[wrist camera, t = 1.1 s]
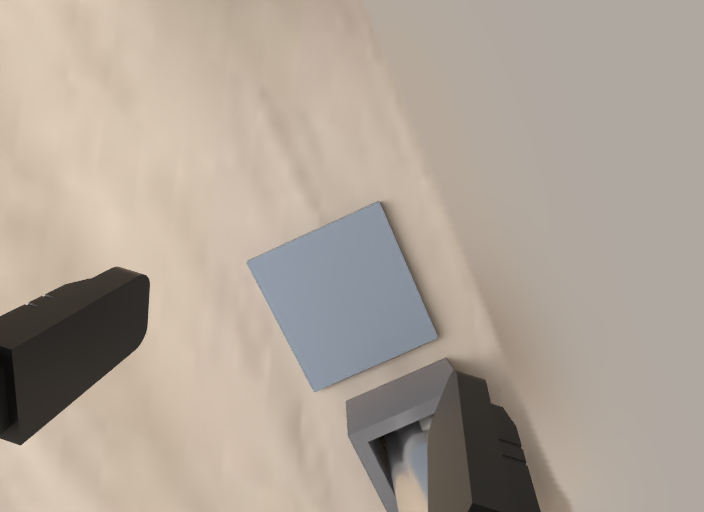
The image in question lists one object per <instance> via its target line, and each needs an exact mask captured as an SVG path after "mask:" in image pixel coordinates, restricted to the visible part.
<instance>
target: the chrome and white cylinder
mask: <svg viewBox="0 0 704 512" xmlns="http://www.w3.org/2000/svg"><path fill="white" fill-rule="evenodd" d="M433 415H434V414H432V415H429V416H427V417H425V418H422V419H420V420H418V421H415V422H413V423H411V424H408V425H406V426H404V427H402V428H399V429H397V430H395V431H392V432H390V433H388V434H385V435H384V440H385V446H386V451H387V456H388V461H389V466H390V471H391V476H392V481H393V487H394V492H395V497H396V502H397V507H398V512H428V466H427V442H428V434H429V428H430V424H431V421H432V418H433Z"/></svg>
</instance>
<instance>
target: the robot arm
mask: <svg viewBox="0 0 704 512" xmlns="http://www.w3.org/2000/svg"><path fill="white" fill-rule="evenodd" d="M149 290H150V282H149V278H148V277H147V276H146V275H144V274H140V273H137V272H134V271H131V270H127V269H124V268H121V267H114V268H111V269H109V270H107V271H105V272H103V273H101V274H99V275H97V276H95V277H94V278H92V279H86V280H82V281H78V282H73V283H69V284H65V285H63V286H61V287H59V288H57V289H55V290H53V291H51V292H49V293H47V294H46V295H45V296H44V297H43V296H41V297H39V298H37V299H35V300H33V301H31V302H29V304H28V305H25V304H24V305H22V306H20V307H18V308H16V309H14V310H12V311H10V312H8V313H6V314H4V315H2V316H0V438H1V439H4V440H6V441H9V442H12V443H15V444H18V445H22V444H23V443H24V442H25V441H27V440H28V439H29V438H30V437H31V436H33V435H34V434H35V433H36V432H37V431H39V430H40V429H41V428H42V427H43V426H45V425H46V424H47V423H48V422H49V421H51V420H52V419H53V418H54V417H55V416H57V415H58V414H59V413H60V412H61V411H63V410H64V409H65V408H66V407H67V406H69V405H70V404H71V403H72V402H73V401H75V400H76V399H77V398H78V397H79V396H81V395H82V394H83V393H84V392H85V391H87V390H88V389H89V388H90V387H91V386H93V385H94V384H95V383H96V382H97V381H99V380H100V379H101V378H102V377H103V376H105V375H106V374H107V373H108V372H109V371H111V370H112V369H113V368H114V367H115V366H117V365H118V364H119V363H120V362H121V361H123V360H124V359H125V358H126V357H127V356H129V355H130V354H131V353H132V352H133V351H135V350H136V349H137V348H138V346H139V345H140V344H141V342H142V340H143V339H144V336H145V334H146V331H147V324H148V307H149ZM427 466H428V512H541V511H540V508H539V505H538V501H537V498H536V494H535V491H534V487H533V484H532V480H531V477H530V473H529V470H528V466H526V459H525V456H524V452H523V449H521V442H520V439H519V435H518V432H517V428H516V426H515V424H514V423H513V421H512V420H511V419H510V417H509V416H508V414H507V413H506V411H505V410H504V409H503V407H500V406H497V405H493V404H491V402H490V397H489V393H488V389H487V384H486V381H485V380H484V379H481V378H478V377H474V376H471V375H468V374H465V373H461V372H458V371H453V372H452V373H451V375H450V376H449V379H448V381H447V384H446V386H445V388H444V391H443V393H442V396H441V398H440V401H439V403H438V406H437V408H436V410H435V413H434V415H433V418H432V421H431V424H430V428H429V434H428V442H427Z"/></svg>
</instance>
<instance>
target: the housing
mask: <svg viewBox="0 0 704 512" xmlns="http://www.w3.org/2000/svg"><path fill="white" fill-rule="evenodd" d="M453 371H454V370H453V368H452V366H451V365H450V363H449V361H448V360H447V358H444V359H442V360H440V361H438V362H435V363H433V364H431V365H428V366H426V367H424V368H421V369H419V370H417V371H415V372H412V373H410V374H408V375H405V376H403V377H401V378H399V379H396V380H394V381H392V382H389V383H387V384H385V385H382V386H380V387H378V388H376V389H373V390H371V391H369V392H366V393H364V394H362V395H360V396H357V397H355V398H353V399H350V400H348V401H346V411H347V428H348V437H349V439H350V441H351V443H352V445H353V447H354V449H355V451H356V453H357V454H358V456H359V458H360V460H361V462H362V464H363V466H364V468H365V470H366V472H367V474H368V476H369V478H370V480H371V482H372V484H373V486H374V488H375V489H376V491H377V493H378V495H379V497H380V499H381V501H382V503H383V505H384V507H385V509H386V511H387V512H398V507H397V502H396V497H395V492H394V487H393V481H392V476H391V471H390V466H389V461H388V456H387V454H386V452H385V450H384V448H383V446H382V444H381V442H380V440H379V438H378V437H381V436H383V435H385V434H388V433H390V432H392V431H395V430H397V429H399V428H402V427H404V426H406V425H408V424H411V423H413V422H415V421H418V420H420V419H422V418H425V417H427V416H429V415H432V414H434V413H435V410H436V408H437V406H438V403H439V401H440V398H441V396H442V393H443V391H444V388H445V386H446V384H447V381H448V379H449V376H450V375H451V373H452V372H453Z"/></svg>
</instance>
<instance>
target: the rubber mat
mask: <svg viewBox="0 0 704 512" xmlns="http://www.w3.org/2000/svg"><path fill="white" fill-rule="evenodd" d="M246 263H247V265H248V266H249V268H250V270H251V272H252V274H253V276H254V278H255V280H256V282H257V284H258V286H259V288H260V289H261V291H262V293H263V295H264V297H265V299H266V301H267V303H268V305H269V307H270V309H271V311H272V313H273V314H274V316H275V318H276V320H277V322H278V324H279V326H280V328H281V330H282V332H283V334H284V336H285V337H286V339H287V341H288V343H289V345H290V347H291V349H292V351H293V353H294V355H295V357H296V359H297V360H298V362H299V364H300V366H301V368H302V370H303V372H304V374H305V376H306V378H307V380H308V382H309V383H310V385H311V387H312V389H313V391H314V392H316V391H318V390H320V389H323V388H325V387H327V386H330V385H332V384H334V383H336V382H339V381H341V380H343V379H346V378H348V377H350V376H352V375H355V374H357V373H359V372H361V371H364V370H366V369H368V368H371V367H373V366H375V365H377V364H380V363H382V362H384V361H387V360H389V359H391V358H393V357H396V356H398V355H400V354H403V353H405V352H407V351H409V350H412V349H414V348H416V347H419V346H421V345H423V344H425V343H428V342H430V341H432V340H435V339H437V338H438V336H437V334H436V331H435V329H434V327H433V324H432V322H431V320H430V317H429V315H428V313H427V310H426V308H425V306H424V304H423V301H422V299H421V297H420V294H419V292H418V290H417V287H416V285H415V283H414V280H413V278H412V276H411V273H410V271H409V269H408V267H407V264H406V262H405V260H404V257H403V255H402V253H401V250H400V248H399V246H398V243H397V241H396V239H395V237H394V234H393V232H392V230H391V227H390V225H389V223H388V220H387V218H386V216H385V213H384V211H383V209H382V206H381V204H380V202H379V201H378V202H376V203H373V204H371V205H369V206H367V207H365V208H362V209H360V210H358V211H356V212H354V213H351V214H349V215H347V216H345V217H343V218H340V219H338V220H336V221H334V222H332V223H329V224H327V225H325V226H323V227H321V228H318V229H316V230H314V231H312V232H310V233H307V234H305V235H303V236H301V237H299V238H297V239H294V240H292V241H290V242H288V243H286V244H283V245H281V246H279V247H277V248H275V249H272V250H270V251H268V252H266V253H264V254H261V255H259V256H257V257H255V258H253V259H250V260H248V261H247V262H246Z"/></svg>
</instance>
